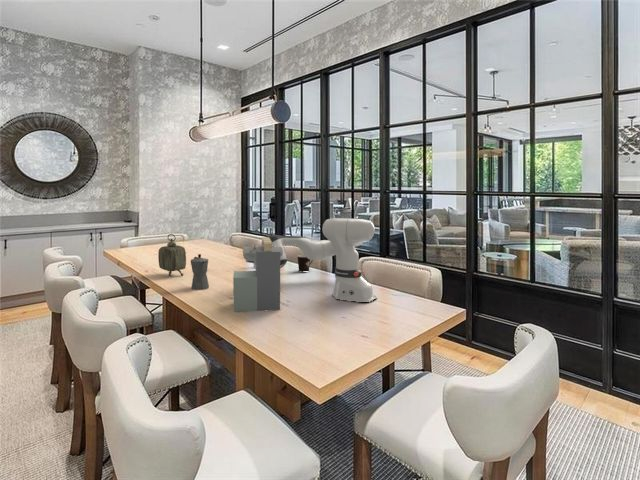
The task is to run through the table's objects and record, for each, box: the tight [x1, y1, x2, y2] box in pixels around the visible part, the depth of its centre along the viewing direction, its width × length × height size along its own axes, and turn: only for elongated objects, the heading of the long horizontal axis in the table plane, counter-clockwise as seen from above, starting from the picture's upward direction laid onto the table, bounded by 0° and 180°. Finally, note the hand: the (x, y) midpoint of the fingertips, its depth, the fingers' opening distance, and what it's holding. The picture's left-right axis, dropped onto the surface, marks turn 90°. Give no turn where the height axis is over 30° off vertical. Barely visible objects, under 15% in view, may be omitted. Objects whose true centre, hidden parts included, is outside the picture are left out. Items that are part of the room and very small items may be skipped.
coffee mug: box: [297, 254, 314, 272], centre depth 256 cm, size 12×9×10 cm
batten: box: [261, 236, 273, 251], centre depth 183 cm, size 20×4×4 cm, turn 11°
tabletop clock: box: [157, 233, 187, 277], centre depth 236 cm, size 14×9×25 cm, turn 58°
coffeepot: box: [190, 253, 210, 291], centre depth 211 cm, size 15×9×18 cm, turn 34°
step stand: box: [232, 246, 281, 313], centre depth 179 cm, size 14×20×26 cm
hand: (263, 246), depth 195 cm, fingers open, 8 cm apart
